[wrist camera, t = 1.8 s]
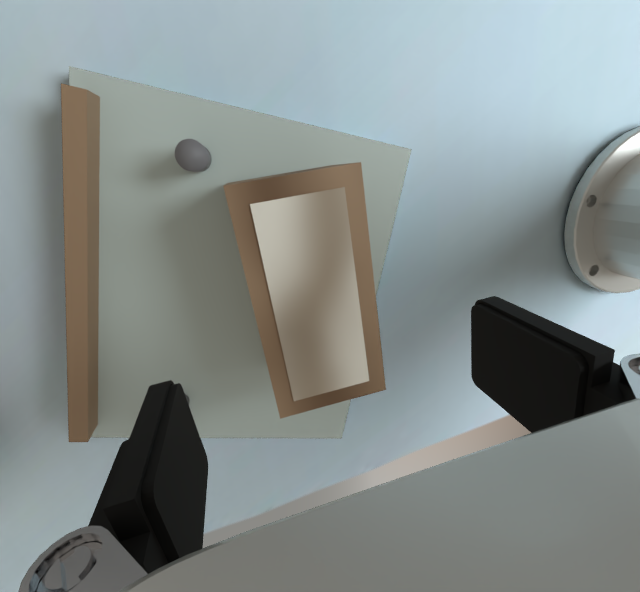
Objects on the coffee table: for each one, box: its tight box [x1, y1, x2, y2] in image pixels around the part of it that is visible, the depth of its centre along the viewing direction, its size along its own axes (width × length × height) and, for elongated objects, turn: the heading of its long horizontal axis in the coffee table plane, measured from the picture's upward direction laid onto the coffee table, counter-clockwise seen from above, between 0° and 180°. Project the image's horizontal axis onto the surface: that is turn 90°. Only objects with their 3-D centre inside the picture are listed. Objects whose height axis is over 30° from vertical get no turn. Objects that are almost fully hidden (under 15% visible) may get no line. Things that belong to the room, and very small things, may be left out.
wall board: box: [61, 66, 412, 442], centre depth 21 cm, size 18×21×4 cm
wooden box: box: [223, 162, 386, 419], centre depth 20 cm, size 6×12×6 cm, turn 9°
